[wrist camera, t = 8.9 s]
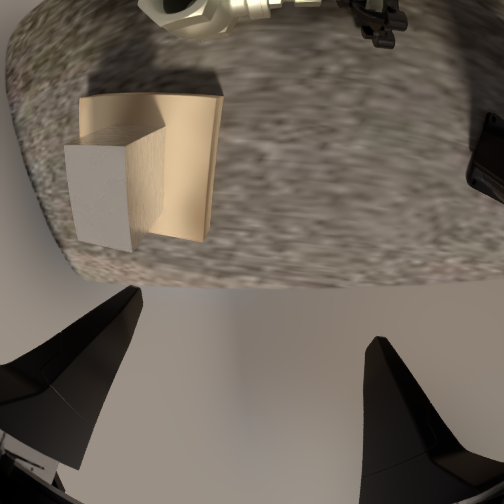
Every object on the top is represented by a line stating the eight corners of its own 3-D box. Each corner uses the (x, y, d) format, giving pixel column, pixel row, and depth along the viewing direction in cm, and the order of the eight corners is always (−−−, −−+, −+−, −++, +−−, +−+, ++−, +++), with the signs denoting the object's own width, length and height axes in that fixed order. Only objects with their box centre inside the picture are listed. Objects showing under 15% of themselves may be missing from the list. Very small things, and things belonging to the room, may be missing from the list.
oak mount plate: (223, 96, 16) (216, 98, 14) (209, 228, 21) (202, 242, 20) (95, 94, 16) (79, 98, 14) (101, 209, 21) (88, 220, 20)
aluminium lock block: (166, 126, 15) (124, 146, 11) (164, 211, 19) (132, 252, 14) (112, 124, 15) (64, 145, 11) (116, 203, 19) (78, 240, 14)
